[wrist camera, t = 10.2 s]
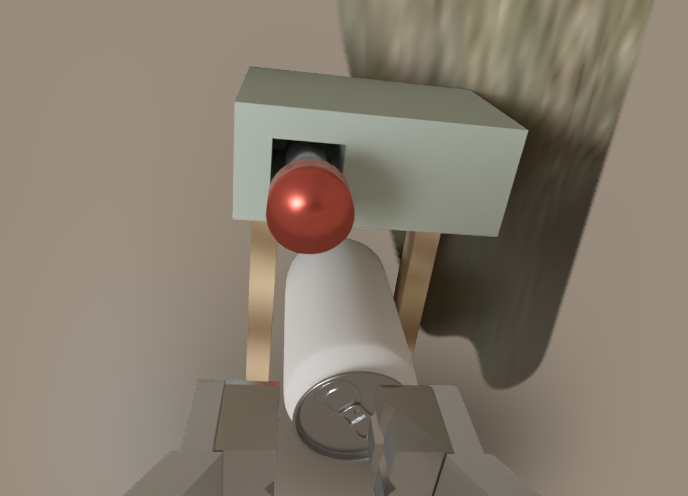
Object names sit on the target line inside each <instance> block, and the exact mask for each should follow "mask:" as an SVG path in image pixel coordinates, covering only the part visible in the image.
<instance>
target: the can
mask: <svg viewBox="0 0 688 496" xmlns="http://www.w3.org/2000/svg"><path fill="white" fill-rule="evenodd" d="M283 385H284V386H283V387H284V402H285V407H286V410H287V412H288V414H289V416H290V418H291V420H292V425H293V431H294V434H295V436H296V438H297V440H298V441H299V442H300V444H301V445H302V446H303V447H304V448H305V449H307V450H308V451H309V452H311V453H312V454H314V455H316V456H318V457H320V458H323V459H327V460H330V461H335V462H361V461H366V460H369V454H368V430H369V424H370V418H371V416H372V415H373V414H374V413H376V408H375V402H374V398H375V393H376V389H377V387H378V385H417V378H416V374H415V369H414V366H413V362H412V359H411V355H410V352H409V349H408V345H407V342H406V339H405V335H404V332H403V329H402V325H401V322H400V319H399V315H398V312H397V309H396V306H395V302H394V299H393V296H392V293H391V289H390V286H389V283H388V280H387V277H386V274H385V271H384V268H383V265H382V263H381V261H380V259H379V258H378V256H377V255H376V254H375V253H374V252H373V251H372V250H371V249H370V248H368V247H367V246H365V245H364V244H362V243H360V242H357V241H354V240H351V239H344V240H343V242H341V243H340V244H339V245H338V246H336V247H335V248H333V249H331V250H329V251H326V252H323V253H319V254H301V253H299V254H298V255H297V256H296V257H295V258H294V260H293V261H292V263H291V264H290V266H289V269H288V272H287V276H286V287H285V321H284V383H283Z"/></svg>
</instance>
